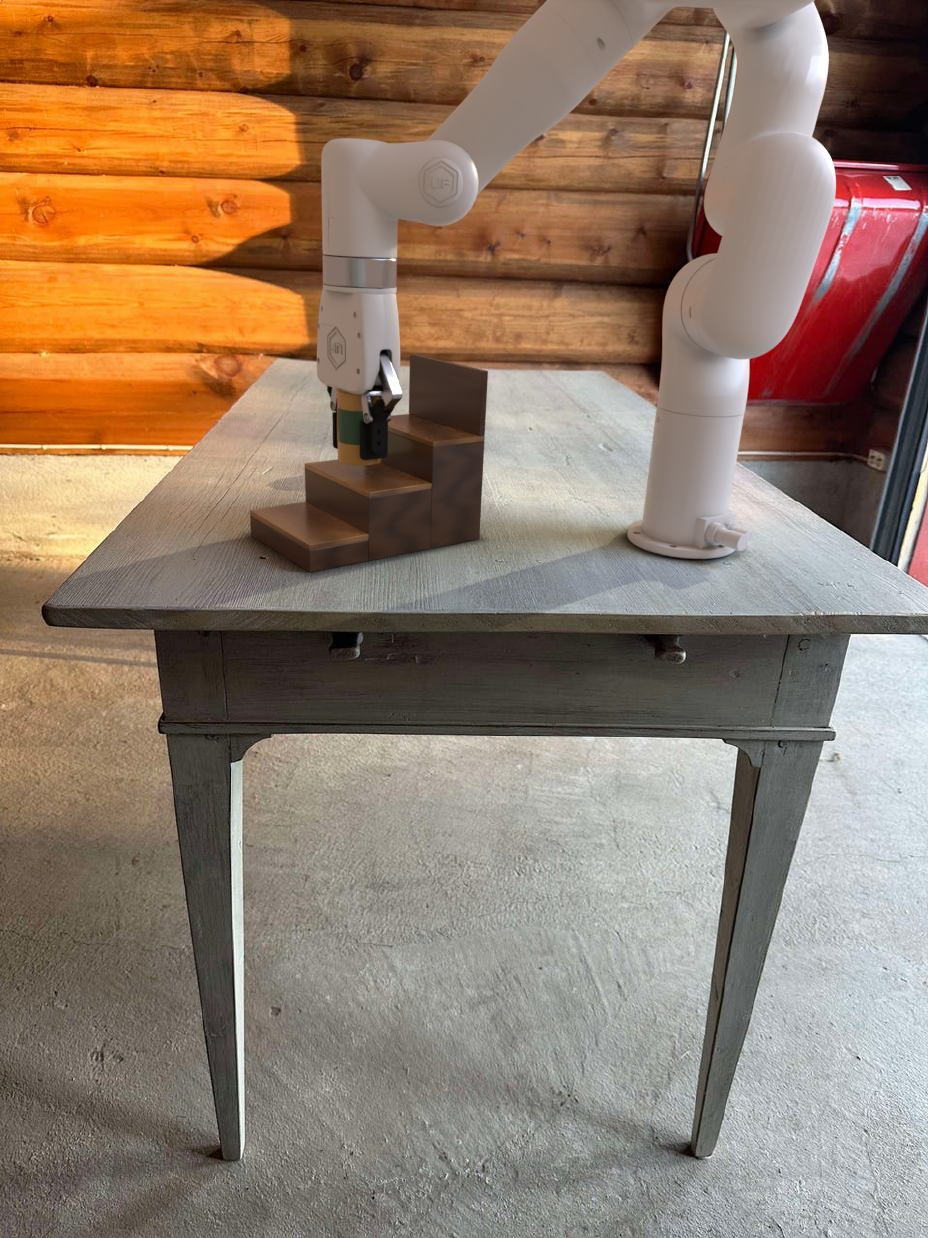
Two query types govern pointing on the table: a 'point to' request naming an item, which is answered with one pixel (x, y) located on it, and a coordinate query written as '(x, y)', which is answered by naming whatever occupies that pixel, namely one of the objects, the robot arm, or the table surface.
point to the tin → (351, 427)
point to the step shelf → (394, 481)
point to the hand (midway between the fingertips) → (359, 451)
